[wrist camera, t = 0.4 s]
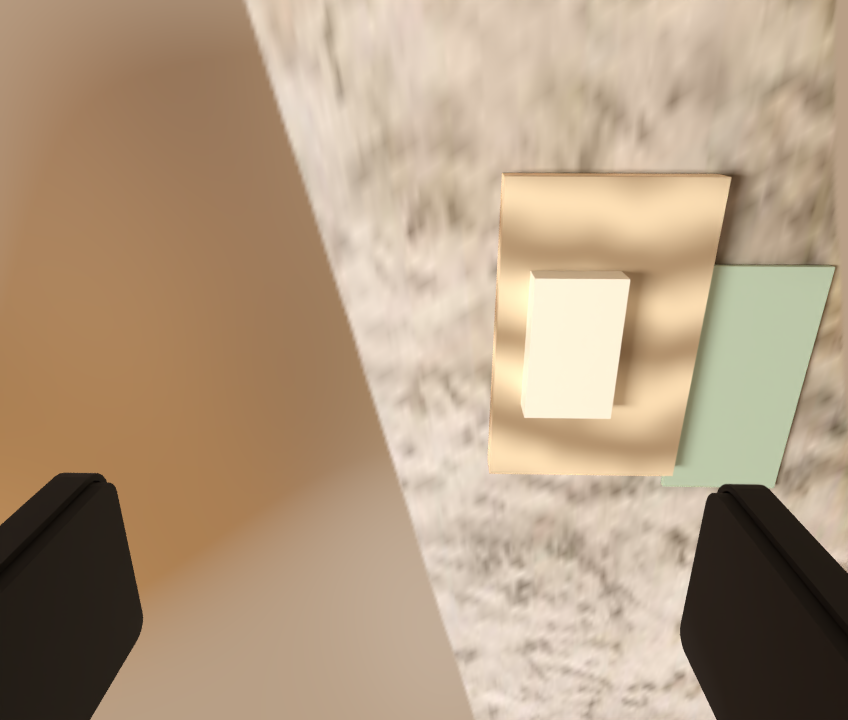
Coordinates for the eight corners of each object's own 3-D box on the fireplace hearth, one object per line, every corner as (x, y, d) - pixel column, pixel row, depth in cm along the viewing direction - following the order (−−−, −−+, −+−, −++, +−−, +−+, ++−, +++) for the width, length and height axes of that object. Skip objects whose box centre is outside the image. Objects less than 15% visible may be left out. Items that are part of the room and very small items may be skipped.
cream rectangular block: (530, 270, 39) (535, 278, 37) (621, 271, 39) (630, 279, 37) (520, 404, 43) (524, 417, 41) (603, 405, 43) (610, 418, 41)
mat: (701, 264, 41) (705, 266, 40) (830, 265, 41) (835, 267, 40) (660, 482, 48) (662, 486, 47) (770, 484, 48) (773, 488, 47)
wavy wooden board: (502, 173, 39) (505, 176, 37) (717, 173, 39) (731, 177, 37) (487, 459, 47) (489, 473, 46) (663, 461, 47) (672, 476, 45)
